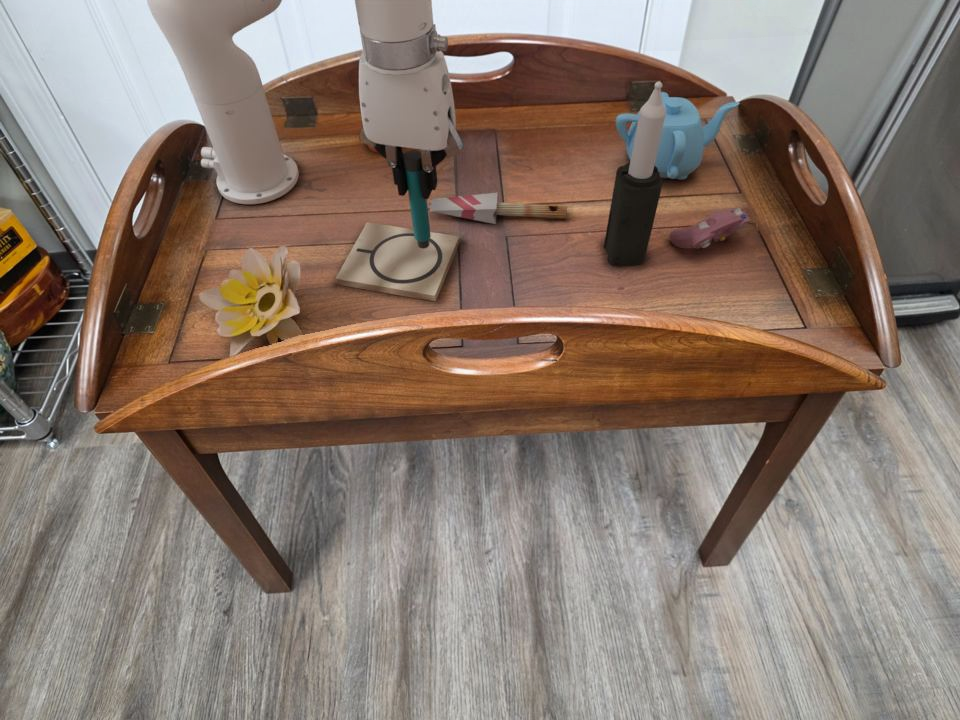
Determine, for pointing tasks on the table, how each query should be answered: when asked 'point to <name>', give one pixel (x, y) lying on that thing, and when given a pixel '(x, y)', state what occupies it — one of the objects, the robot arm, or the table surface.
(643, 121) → the candle
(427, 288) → the sketch board
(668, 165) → the teapot
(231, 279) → the decorative flower
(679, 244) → the purple toy car
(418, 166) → the marker
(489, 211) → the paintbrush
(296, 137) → the table surface
